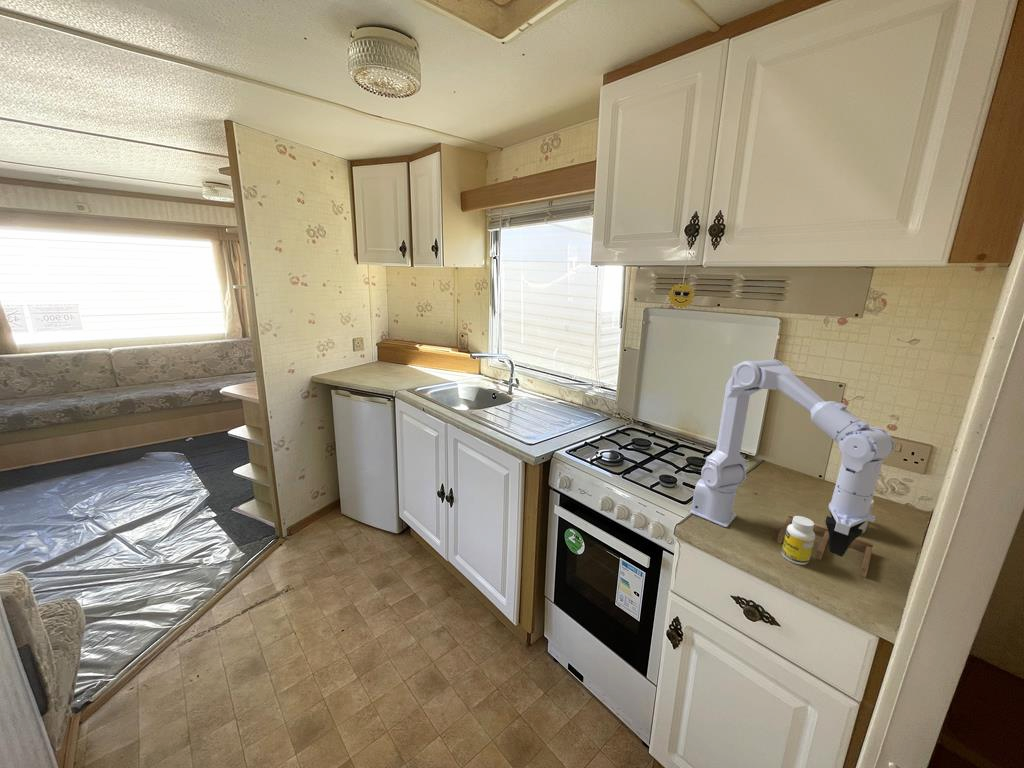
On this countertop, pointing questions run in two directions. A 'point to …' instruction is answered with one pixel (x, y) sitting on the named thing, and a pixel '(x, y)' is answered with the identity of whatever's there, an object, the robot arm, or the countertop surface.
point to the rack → (824, 533)
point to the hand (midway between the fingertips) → (837, 549)
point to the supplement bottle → (799, 540)
